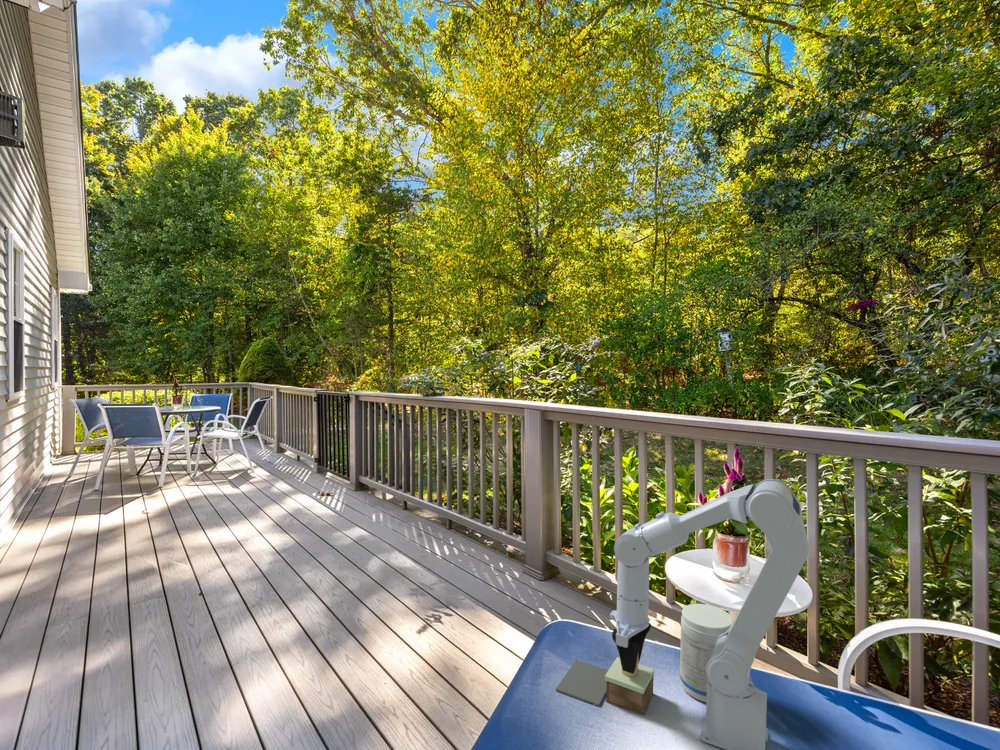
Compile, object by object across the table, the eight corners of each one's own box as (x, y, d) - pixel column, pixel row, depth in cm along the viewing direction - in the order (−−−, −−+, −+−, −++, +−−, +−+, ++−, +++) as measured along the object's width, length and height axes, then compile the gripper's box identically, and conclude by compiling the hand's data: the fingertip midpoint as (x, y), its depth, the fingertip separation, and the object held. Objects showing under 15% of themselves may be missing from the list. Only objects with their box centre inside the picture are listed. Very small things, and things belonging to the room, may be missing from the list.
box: (653, 694, 95) (653, 674, 95) (644, 717, 89) (644, 695, 89) (616, 682, 98) (617, 662, 98) (606, 703, 92) (606, 682, 92)
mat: (616, 674, 100) (616, 672, 100) (598, 706, 91) (598, 704, 91) (576, 661, 105) (576, 659, 105) (555, 690, 95) (555, 688, 95)
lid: (653, 677, 95) (654, 648, 95) (643, 698, 89) (644, 667, 88) (617, 664, 99) (617, 636, 98) (604, 684, 92) (605, 654, 92)
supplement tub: (695, 668, 103) (697, 598, 103) (741, 692, 96) (744, 616, 95) (669, 686, 97) (671, 612, 97) (716, 713, 90) (719, 633, 89)
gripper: (622, 575, 101) (620, 641, 102) (599, 604, 89) (598, 680, 89) (657, 583, 98) (655, 651, 98) (639, 615, 85) (637, 693, 86)
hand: (630, 666), depth 93 cm, fingers closed on lid, 3 cm apart
